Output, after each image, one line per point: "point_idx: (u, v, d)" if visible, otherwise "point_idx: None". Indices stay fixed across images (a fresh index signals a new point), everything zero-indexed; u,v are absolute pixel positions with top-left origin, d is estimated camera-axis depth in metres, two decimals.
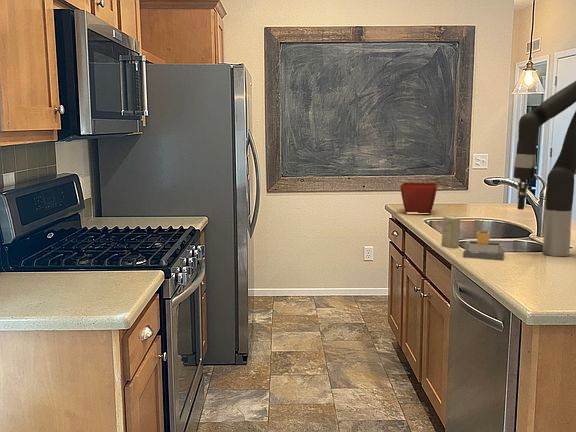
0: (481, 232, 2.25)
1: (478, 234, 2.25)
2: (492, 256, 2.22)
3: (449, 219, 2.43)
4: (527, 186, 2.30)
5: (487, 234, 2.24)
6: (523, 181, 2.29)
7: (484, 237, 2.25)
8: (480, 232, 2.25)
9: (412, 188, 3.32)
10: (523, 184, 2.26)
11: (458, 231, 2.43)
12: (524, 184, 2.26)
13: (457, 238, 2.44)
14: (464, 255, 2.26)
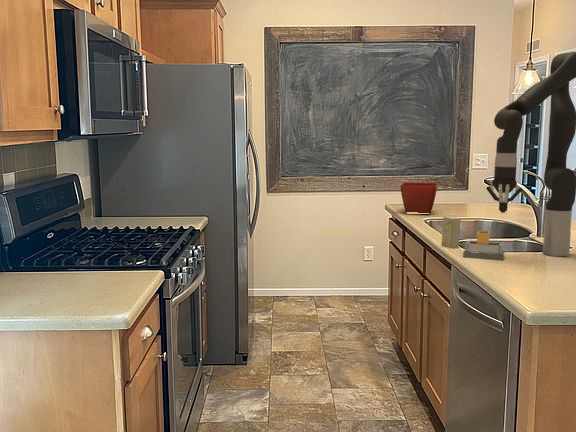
0: (481, 232, 2.25)
1: (478, 234, 2.25)
2: (492, 256, 2.22)
3: (449, 219, 2.43)
4: None
5: (487, 234, 2.24)
6: None
7: (484, 237, 2.25)
8: (480, 232, 2.25)
9: (412, 188, 3.32)
10: (521, 190, 2.20)
11: (458, 231, 2.43)
12: None
13: (457, 238, 2.44)
14: (464, 255, 2.26)
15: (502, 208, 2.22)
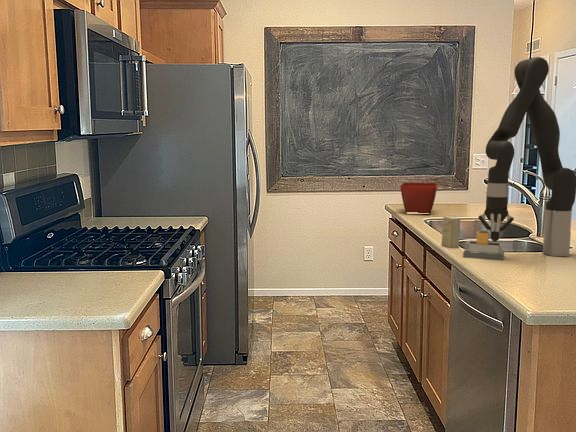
0: (481, 232, 2.25)
1: (478, 234, 2.25)
2: (492, 256, 2.22)
3: (449, 219, 2.43)
4: None
5: (487, 234, 2.24)
6: (507, 210, 2.22)
7: (484, 237, 2.25)
8: (480, 232, 2.25)
9: (412, 188, 3.32)
10: None
11: (458, 231, 2.43)
12: (513, 219, 2.22)
13: (457, 238, 2.44)
14: (464, 255, 2.26)
15: (494, 237, 2.24)
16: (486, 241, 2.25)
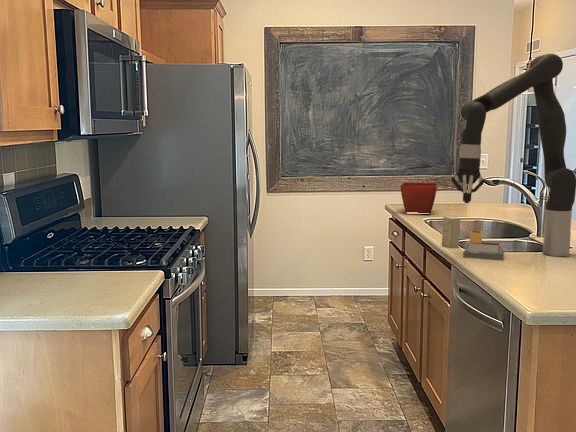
0: (474, 232, 2.26)
1: (471, 234, 2.26)
2: (492, 256, 2.22)
3: (449, 219, 2.43)
4: None
5: (480, 234, 2.25)
6: None
7: (477, 237, 2.26)
8: (473, 232, 2.26)
9: (412, 188, 3.32)
10: (484, 181, 2.24)
11: (458, 231, 2.43)
12: None
13: (457, 238, 2.44)
14: (464, 255, 2.26)
15: (466, 199, 2.26)
16: (479, 241, 2.25)
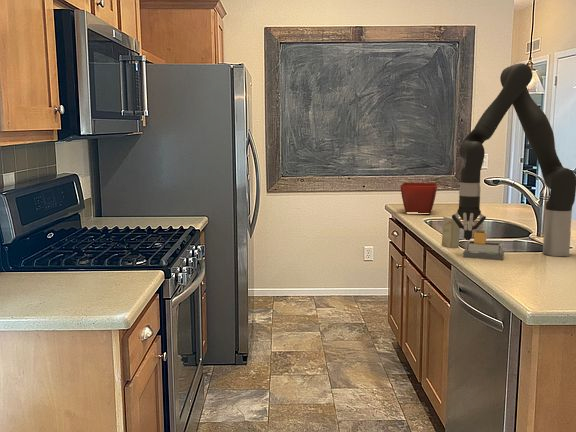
0: (478, 232, 2.25)
1: (475, 234, 2.26)
2: (492, 256, 2.22)
3: (449, 219, 2.43)
4: None
5: (484, 234, 2.25)
6: None
7: (481, 237, 2.25)
8: (477, 232, 2.26)
9: (412, 188, 3.32)
10: (485, 218, 2.26)
11: (458, 231, 2.43)
12: (485, 218, 2.26)
13: (457, 238, 2.44)
14: (464, 255, 2.26)
15: (467, 236, 2.28)
16: (483, 241, 2.25)
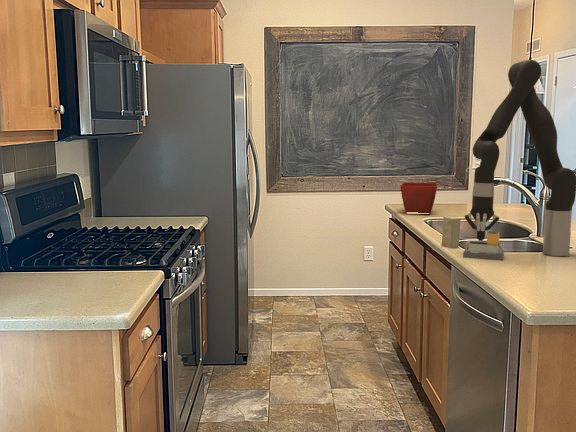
0: (491, 233, 2.24)
1: (488, 235, 2.24)
2: (492, 256, 2.22)
3: (449, 219, 2.43)
4: None
5: (497, 235, 2.23)
6: (492, 210, 2.24)
7: (494, 238, 2.23)
8: (490, 233, 2.24)
9: (412, 188, 3.32)
10: (498, 219, 2.24)
11: (458, 231, 2.43)
12: None
13: (457, 238, 2.44)
14: (464, 255, 2.26)
15: (480, 236, 2.26)
16: (496, 242, 2.23)
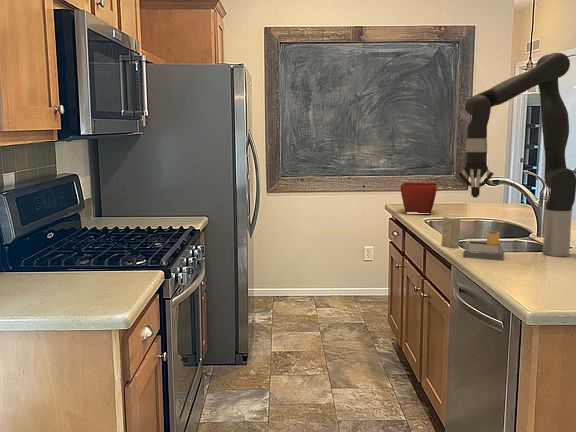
0: (491, 233, 2.24)
1: (488, 235, 2.24)
2: (492, 256, 2.22)
3: (449, 219, 2.43)
4: None
5: (497, 235, 2.23)
6: (486, 165, 2.23)
7: (494, 238, 2.23)
8: (490, 233, 2.24)
9: (412, 188, 3.32)
10: (492, 175, 2.23)
11: (458, 231, 2.43)
12: (492, 175, 2.23)
13: (457, 238, 2.44)
14: (464, 255, 2.26)
15: (474, 193, 2.25)
16: (496, 242, 2.23)
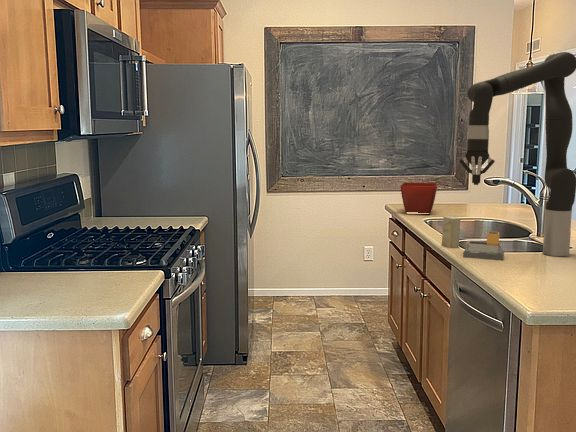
0: (491, 233, 2.24)
1: (488, 235, 2.24)
2: (492, 256, 2.22)
3: (449, 219, 2.43)
4: None
5: (497, 235, 2.23)
6: (487, 153, 2.22)
7: (494, 238, 2.23)
8: (490, 233, 2.24)
9: (412, 188, 3.32)
10: (493, 162, 2.22)
11: (458, 231, 2.43)
12: None
13: (457, 238, 2.44)
14: (464, 255, 2.26)
15: (475, 180, 2.24)
16: (496, 242, 2.23)
